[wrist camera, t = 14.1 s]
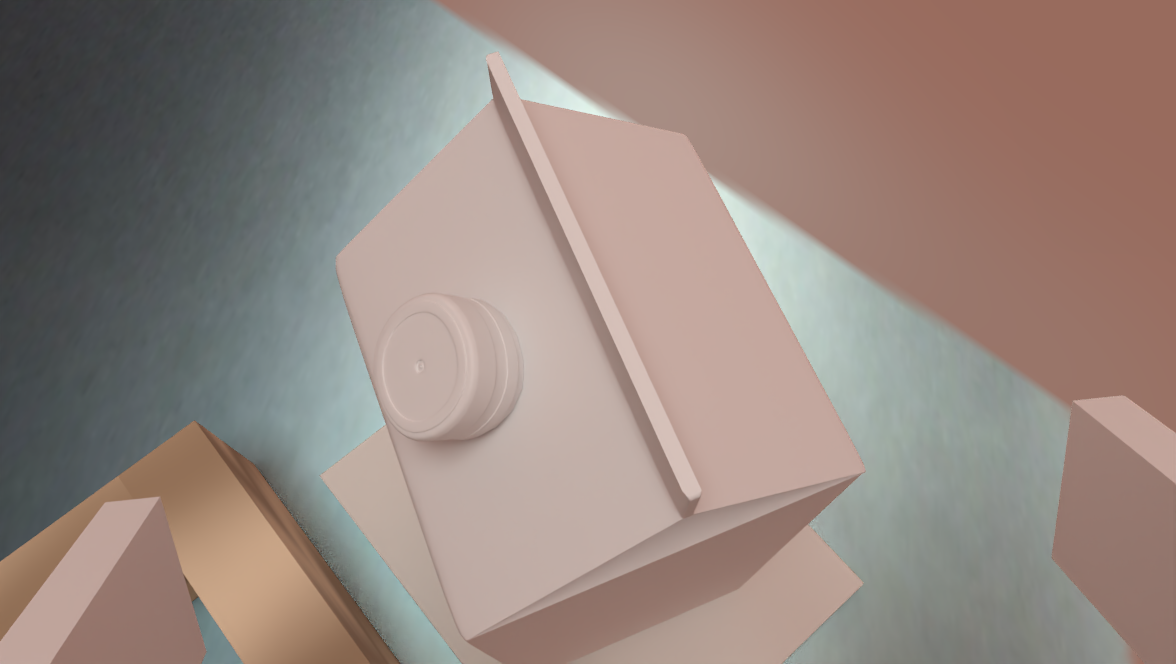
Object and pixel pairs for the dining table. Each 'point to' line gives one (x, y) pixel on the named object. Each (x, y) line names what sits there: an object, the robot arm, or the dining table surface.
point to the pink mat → (644, 660)
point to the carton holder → (221, 557)
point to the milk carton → (584, 380)
